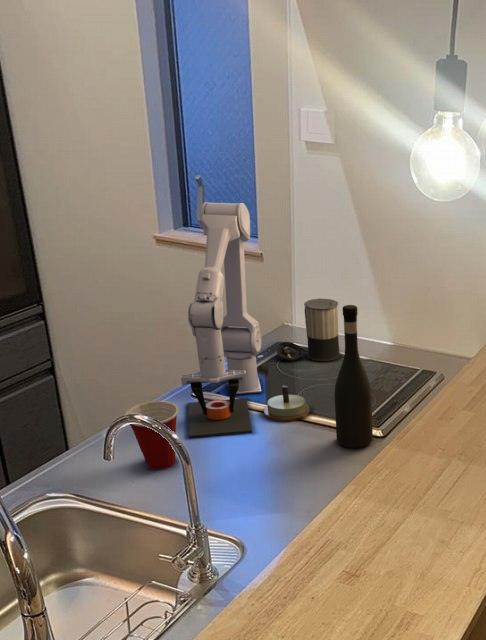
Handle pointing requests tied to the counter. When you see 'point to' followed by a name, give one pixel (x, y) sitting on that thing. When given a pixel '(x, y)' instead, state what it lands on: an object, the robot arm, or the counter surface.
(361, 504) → the counter surface
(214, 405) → the ring
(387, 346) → the counter surface
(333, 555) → the counter surface
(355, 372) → the wine bottle
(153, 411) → the plastic cup
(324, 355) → the milk frother
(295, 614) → the counter surface
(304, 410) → the ring stand
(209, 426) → the mat
